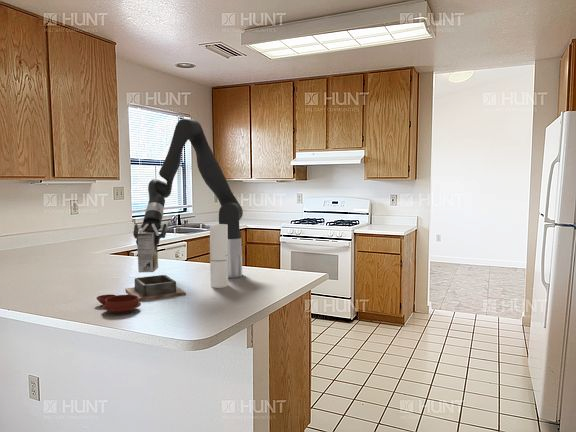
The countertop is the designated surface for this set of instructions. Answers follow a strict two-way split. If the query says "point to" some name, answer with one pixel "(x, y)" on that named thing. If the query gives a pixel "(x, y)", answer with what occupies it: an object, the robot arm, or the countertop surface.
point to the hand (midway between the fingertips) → (147, 244)
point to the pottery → (119, 303)
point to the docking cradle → (155, 288)
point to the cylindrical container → (219, 255)
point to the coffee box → (147, 252)
